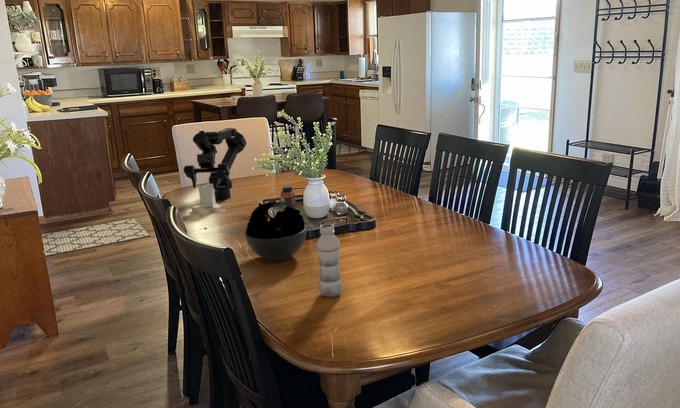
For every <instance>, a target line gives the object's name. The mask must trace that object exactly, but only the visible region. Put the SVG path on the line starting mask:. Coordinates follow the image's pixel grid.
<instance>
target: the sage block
mask: <svg viewBox="0 0 680 408" xmlns="http://www.w3.org/2000/svg"><path fill="white" fill-rule="evenodd" d="M214 192H215V191H214V188H213V184H210V183H205V184H204V183H203V184H200V185H199V186H198V193H199V200H200V205H201V208H207V207H214V205H215V204H216V203H217V201H216V200H215V195H214Z"/></svg>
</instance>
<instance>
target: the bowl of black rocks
mask: <svg viewBox="0 0 680 408" xmlns="http://www.w3.org/2000/svg"><path fill="white" fill-rule="evenodd" d="M275 204H277V202H271V201H269V202H266V203H262V204H260V205H258V207H256V208H255V209H253V210H252V212H251V214H250V218H249V220H248V222H247V226H246V230H245V231H244V236H245V240H246V242H247V244H248V246H249V248H250V249H251V250H252V251H253V252H254V253H255V254H256V255H258V256H259V257H261V258H263V259H266V260H270V261H282V260H286V259H288V258H290V257H292V256H293V255H295V254H297V252H299V250H300V249H301V248H302V246H303V245H304V243H305V240H306V238H307V235H308V234H307V230H308V228H307V225H306V222H305V220H304V216H303V214H301V211H300V210H299V209H297V208H296V209H294V208H291V207H286V208H285V210H286V211H282V210H278V211H277V212H276V214H275V216H273V217H272V218H271V220H269V221H268V217H267V216H266V213H267V212H268V211H269V210H270V209H271V208H272V207H273V206H274V205H275Z"/></svg>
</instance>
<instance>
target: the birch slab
mask: <svg viewBox="0 0 680 408" xmlns="http://www.w3.org/2000/svg"><path fill="white" fill-rule="evenodd" d="M223 210H226V209H225V205H224V204H220V203H217V202H216V204H215V205H214V207H207V208H201V204H199V205H194V206H191V211H192V213H194V212H195V213H194V214H196V213H198V214H201V215H206V216H209V215H208V214H210V215H213V214H212V213H214V214H217V213H216V212H218V213H220V212H219V211H222V212H224V211H223ZM198 214H197V215H198ZM201 215H200V216H201Z"/></svg>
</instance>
